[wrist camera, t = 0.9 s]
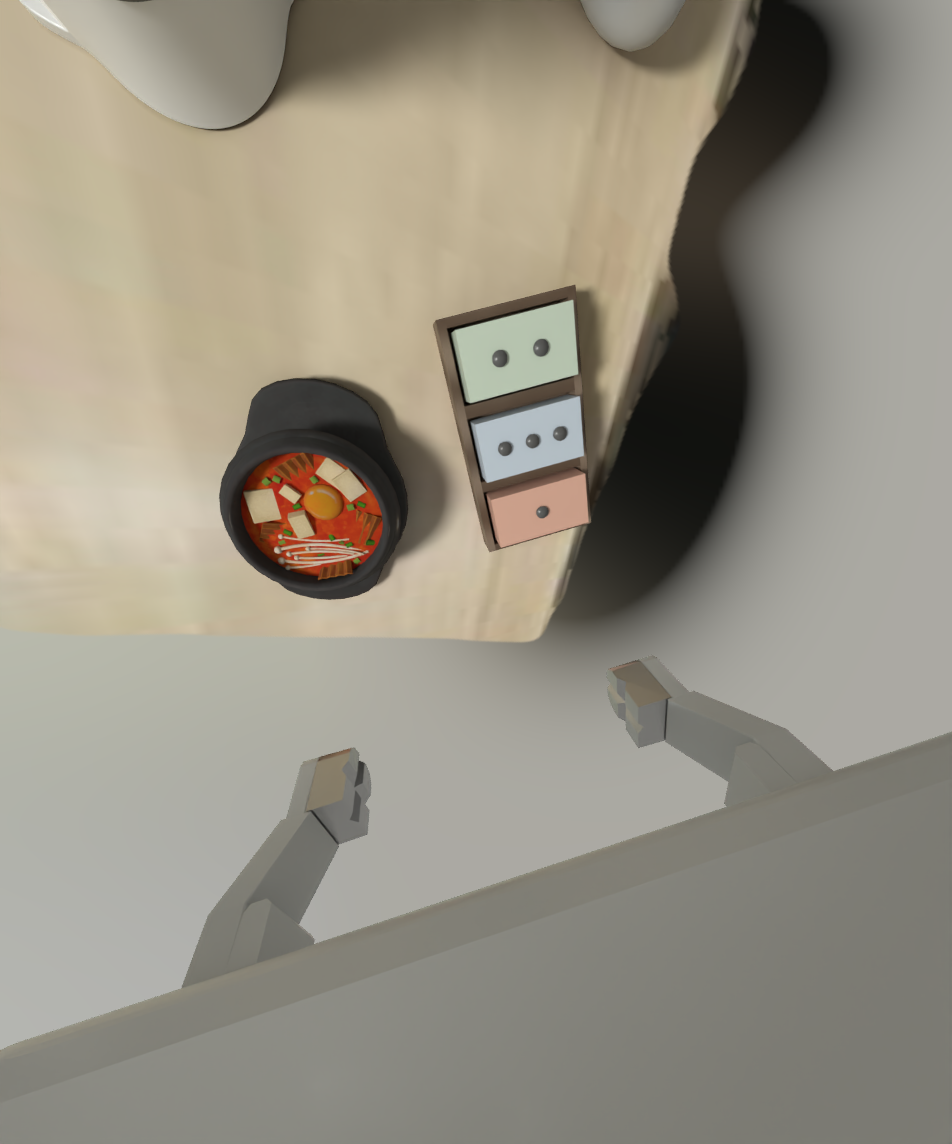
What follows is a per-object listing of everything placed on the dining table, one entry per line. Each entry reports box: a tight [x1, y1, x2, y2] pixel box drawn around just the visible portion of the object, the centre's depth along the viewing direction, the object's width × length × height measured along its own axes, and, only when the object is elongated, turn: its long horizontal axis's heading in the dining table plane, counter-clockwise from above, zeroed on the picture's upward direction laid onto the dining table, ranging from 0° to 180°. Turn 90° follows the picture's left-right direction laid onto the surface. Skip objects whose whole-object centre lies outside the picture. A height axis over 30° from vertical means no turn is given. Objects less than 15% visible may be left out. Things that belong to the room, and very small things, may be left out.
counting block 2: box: [470, 395, 584, 483], centre depth 39 cm, size 6×11×4 cm, turn 103°
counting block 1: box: [451, 300, 578, 403], centre depth 35 cm, size 6×11×4 cm, turn 103°
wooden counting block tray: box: [433, 285, 591, 552], centre depth 41 cm, size 24×13×4 cm, turn 13°
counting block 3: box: [485, 467, 589, 548], centre depth 43 cm, size 6×11×4 cm, turn 103°
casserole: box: [219, 378, 408, 600], centre depth 39 cm, size 25×19×8 cm
